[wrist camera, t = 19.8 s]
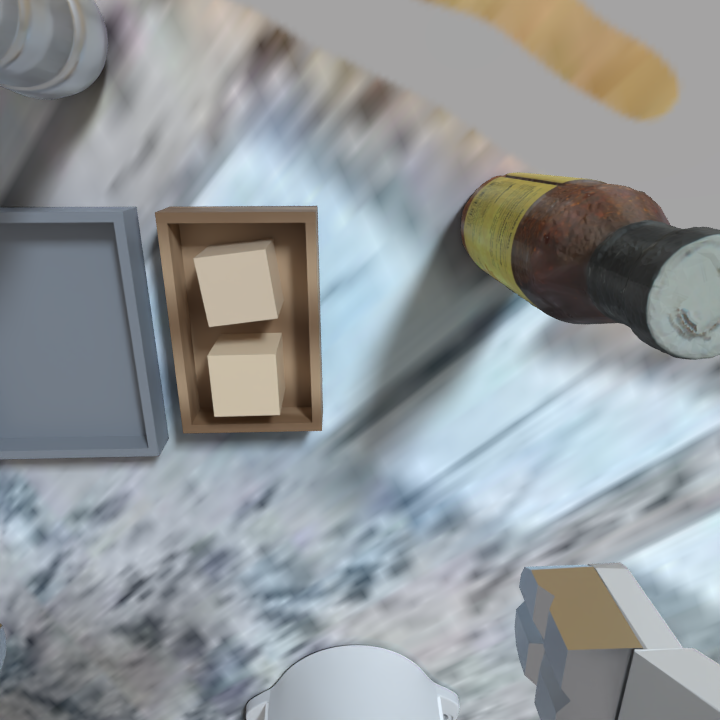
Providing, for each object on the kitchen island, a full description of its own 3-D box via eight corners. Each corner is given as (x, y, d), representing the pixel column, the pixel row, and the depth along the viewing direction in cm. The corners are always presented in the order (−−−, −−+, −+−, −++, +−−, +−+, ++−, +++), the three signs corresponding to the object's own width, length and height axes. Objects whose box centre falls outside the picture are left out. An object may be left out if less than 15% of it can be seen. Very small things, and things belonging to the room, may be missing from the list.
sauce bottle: (469, 283, 37) (603, 425, 18) (446, 188, 35) (572, 242, 16) (567, 253, 37) (806, 368, 18) (550, 154, 34) (802, 170, 16)
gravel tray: (168, 438, 40) (159, 456, 38) (-4, 441, 40) (-24, 459, 38) (136, 207, 34) (122, 211, 32) (-66, 207, 34) (-95, 212, 32)
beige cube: (272, 237, 35) (265, 249, 31) (283, 300, 36) (277, 318, 33) (208, 245, 35) (193, 258, 31) (222, 307, 36) (208, 327, 33)
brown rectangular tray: (322, 410, 40) (321, 430, 37) (194, 412, 40) (183, 433, 37) (317, 206, 35) (315, 211, 32) (169, 206, 34) (155, 212, 32)
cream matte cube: (281, 332, 37) (275, 354, 33) (285, 388, 38) (279, 415, 35) (220, 334, 37) (207, 355, 33) (226, 390, 38) (214, 416, 35)
